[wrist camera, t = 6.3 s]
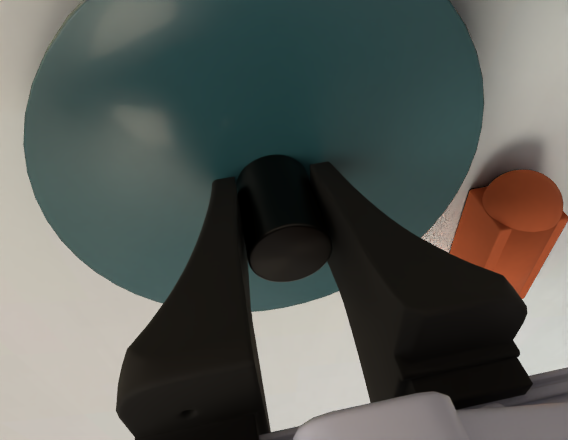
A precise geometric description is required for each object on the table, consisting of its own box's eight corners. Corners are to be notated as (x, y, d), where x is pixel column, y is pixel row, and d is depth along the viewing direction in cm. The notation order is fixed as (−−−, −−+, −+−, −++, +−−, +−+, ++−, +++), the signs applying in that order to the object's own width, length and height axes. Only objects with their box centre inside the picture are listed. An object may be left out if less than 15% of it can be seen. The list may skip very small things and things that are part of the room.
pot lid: (537, 120, 16) (622, 195, 13) (283, 323, 22) (300, 406, 19) (221, -278, 8) (253, -323, 5) (-42, 213, 14) (-99, 326, 11)
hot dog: (488, 276, 24) (519, 322, 22) (437, 286, 24) (463, 333, 22) (545, 150, 18) (594, 196, 16) (478, 161, 18) (518, 209, 16)
